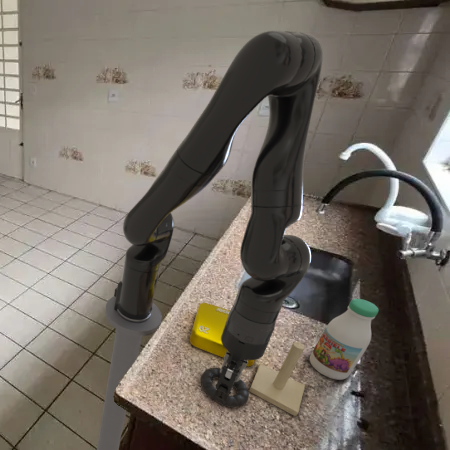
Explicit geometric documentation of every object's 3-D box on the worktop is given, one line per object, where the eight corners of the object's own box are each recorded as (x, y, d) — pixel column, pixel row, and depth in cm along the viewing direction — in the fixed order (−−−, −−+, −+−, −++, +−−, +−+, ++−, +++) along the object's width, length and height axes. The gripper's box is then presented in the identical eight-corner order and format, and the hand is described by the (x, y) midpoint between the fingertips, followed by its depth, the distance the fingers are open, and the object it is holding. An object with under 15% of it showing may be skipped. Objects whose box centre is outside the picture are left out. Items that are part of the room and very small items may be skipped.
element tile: (255, 331, 96) (261, 318, 94) (253, 370, 85) (259, 356, 83) (197, 311, 103) (200, 298, 101) (187, 344, 92) (191, 331, 90)
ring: (194, 390, 80) (196, 384, 79) (208, 365, 86) (210, 359, 85) (240, 417, 74) (243, 411, 73) (251, 388, 81) (254, 382, 80)
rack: (248, 391, 80) (269, 346, 73) (258, 367, 86) (278, 323, 79) (295, 416, 75) (323, 370, 68) (302, 389, 80) (328, 344, 73)
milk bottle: (320, 351, 90) (355, 289, 81) (355, 374, 84) (397, 311, 74) (301, 360, 88) (334, 298, 78) (335, 385, 81) (376, 321, 72)
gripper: (236, 302, 75) (218, 356, 82) (215, 339, 65) (196, 396, 73) (278, 318, 70) (254, 374, 78) (261, 361, 61) (236, 419, 68)
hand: (226, 385), depth 75 cm, fingers open, 8 cm apart
